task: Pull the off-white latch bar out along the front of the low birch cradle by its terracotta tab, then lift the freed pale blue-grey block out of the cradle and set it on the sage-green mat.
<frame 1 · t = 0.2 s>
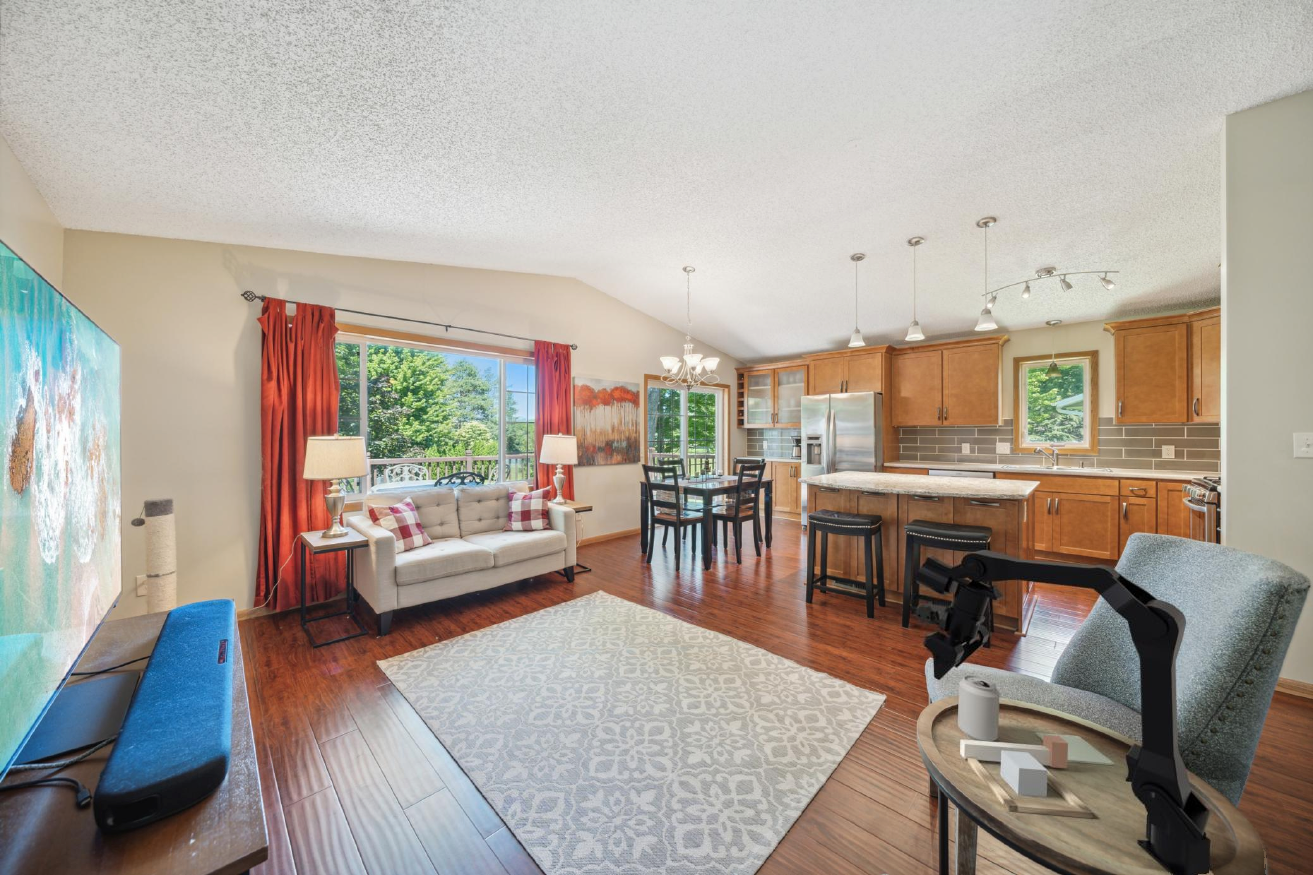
hand: (945, 672, 102), 15 cm above the table, tool pointing down, fingers open, 9 cm apart
mat: (1073, 749, 102), on the table
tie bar: (1012, 747, 97), point 3 cm above the table, slide at 0.0 cm
block: (1022, 786, 90), on the table
cradle: (1022, 785, 90), on the table
can: (977, 734, 106), on the table
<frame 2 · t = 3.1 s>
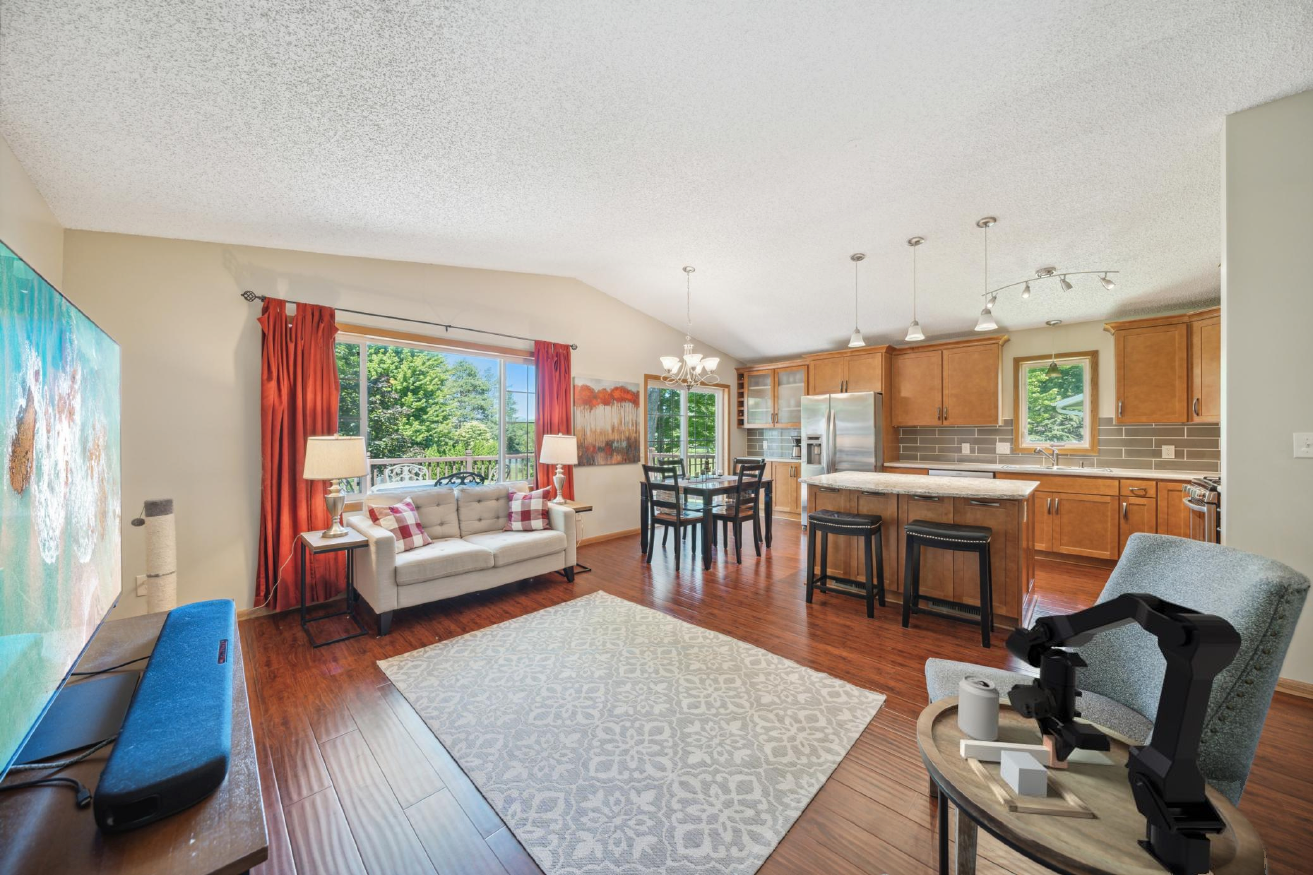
hand: (1054, 756, 96), 2 cm above the table, tool pointing down, fingers closed on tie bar, 2 cm apart
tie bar: (1012, 747, 97), point 3 cm above the table, slide at 0.0 cm, touching gripper
everything else where it was.
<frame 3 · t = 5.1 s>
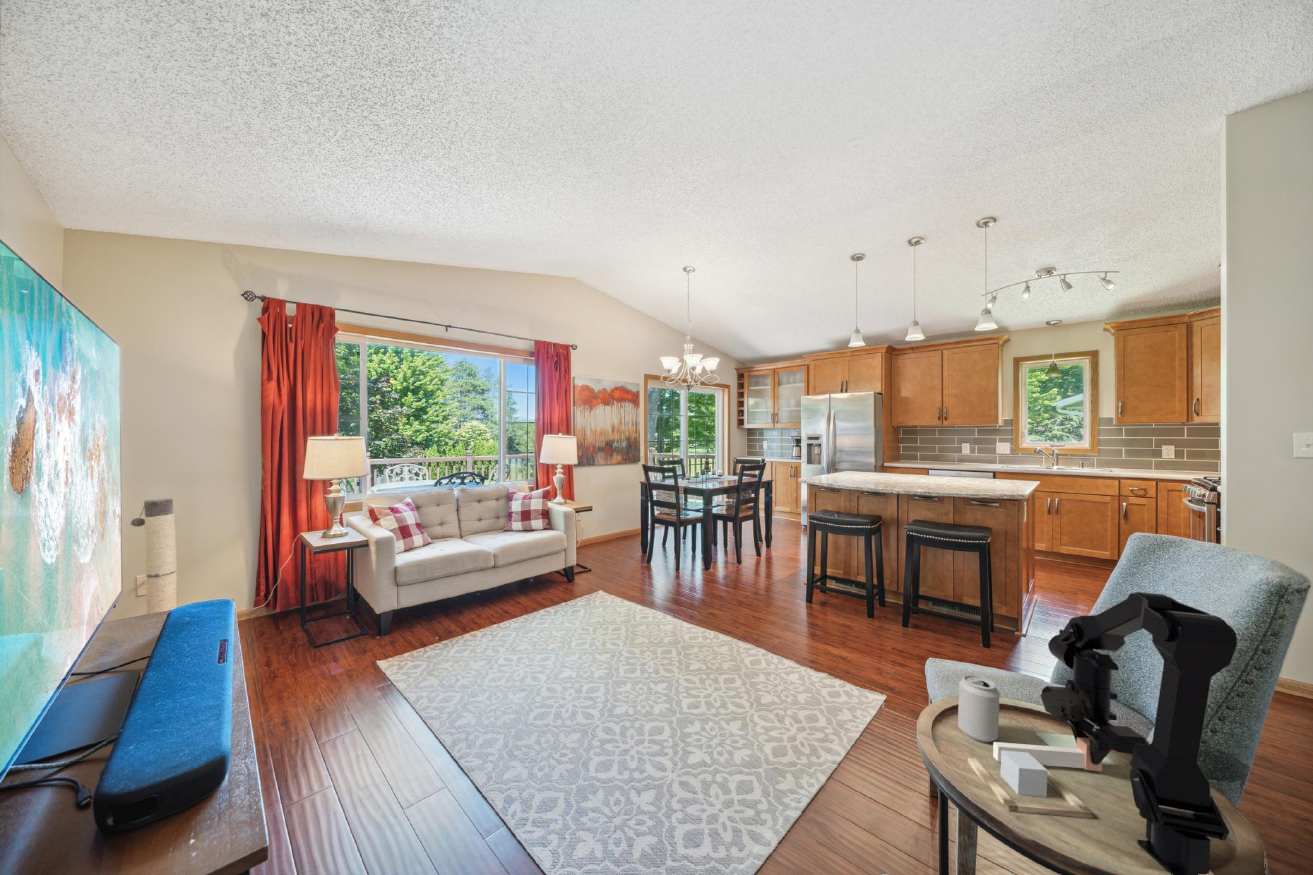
hand: (1089, 759, 96), 2 cm above the table, tool pointing down, fingers closed on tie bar, 2 cm apart
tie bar: (1046, 750, 96), point 3 cm above the table, slide at 6.5 cm, touching gripper
everything else where it was.
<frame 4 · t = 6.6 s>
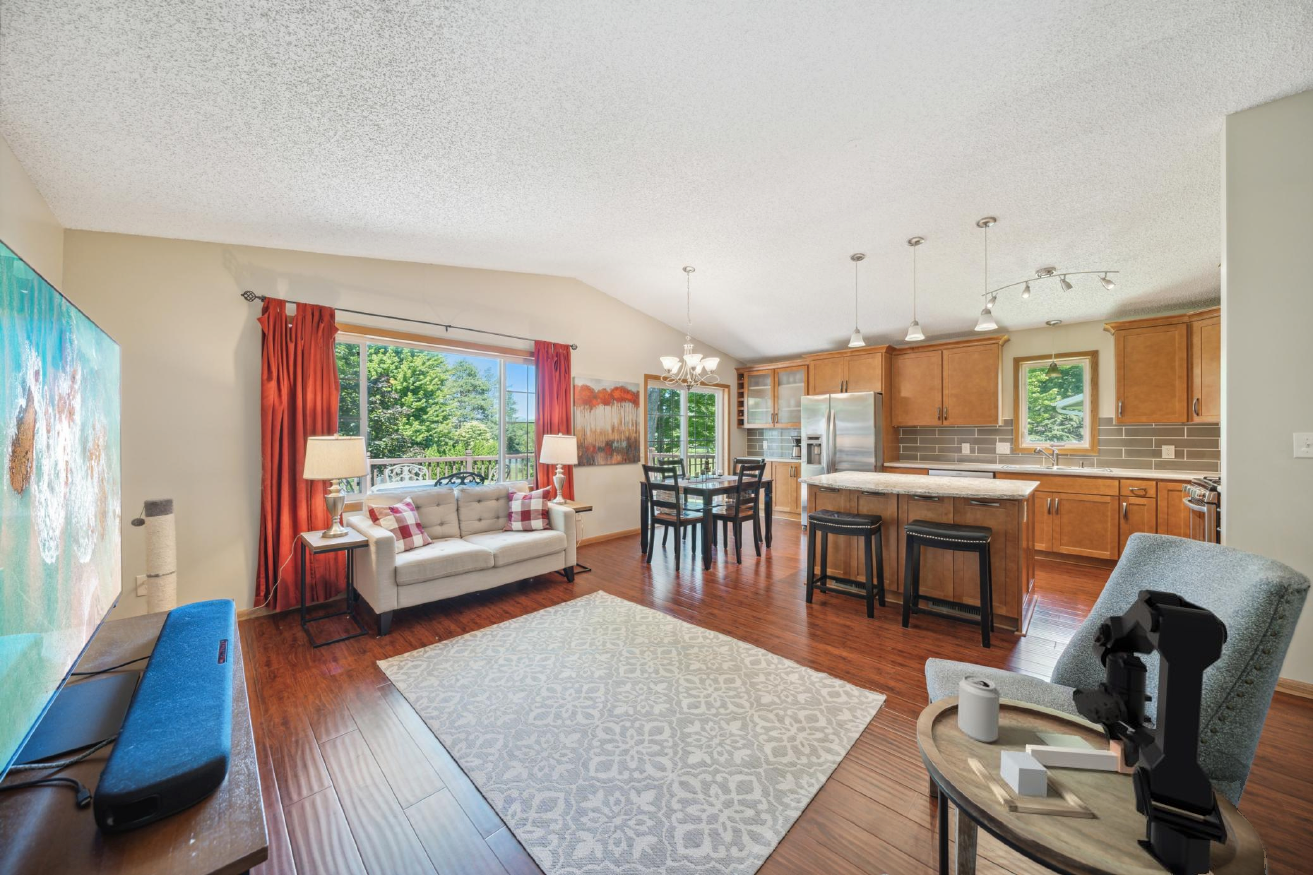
hand: (1122, 761, 95), 2 cm above the table, tool pointing down, fingers closed on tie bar, 2 cm apart
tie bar: (1079, 753, 96), point 3 cm above the table, slide at 12.9 cm, touching gripper
everything else where it was.
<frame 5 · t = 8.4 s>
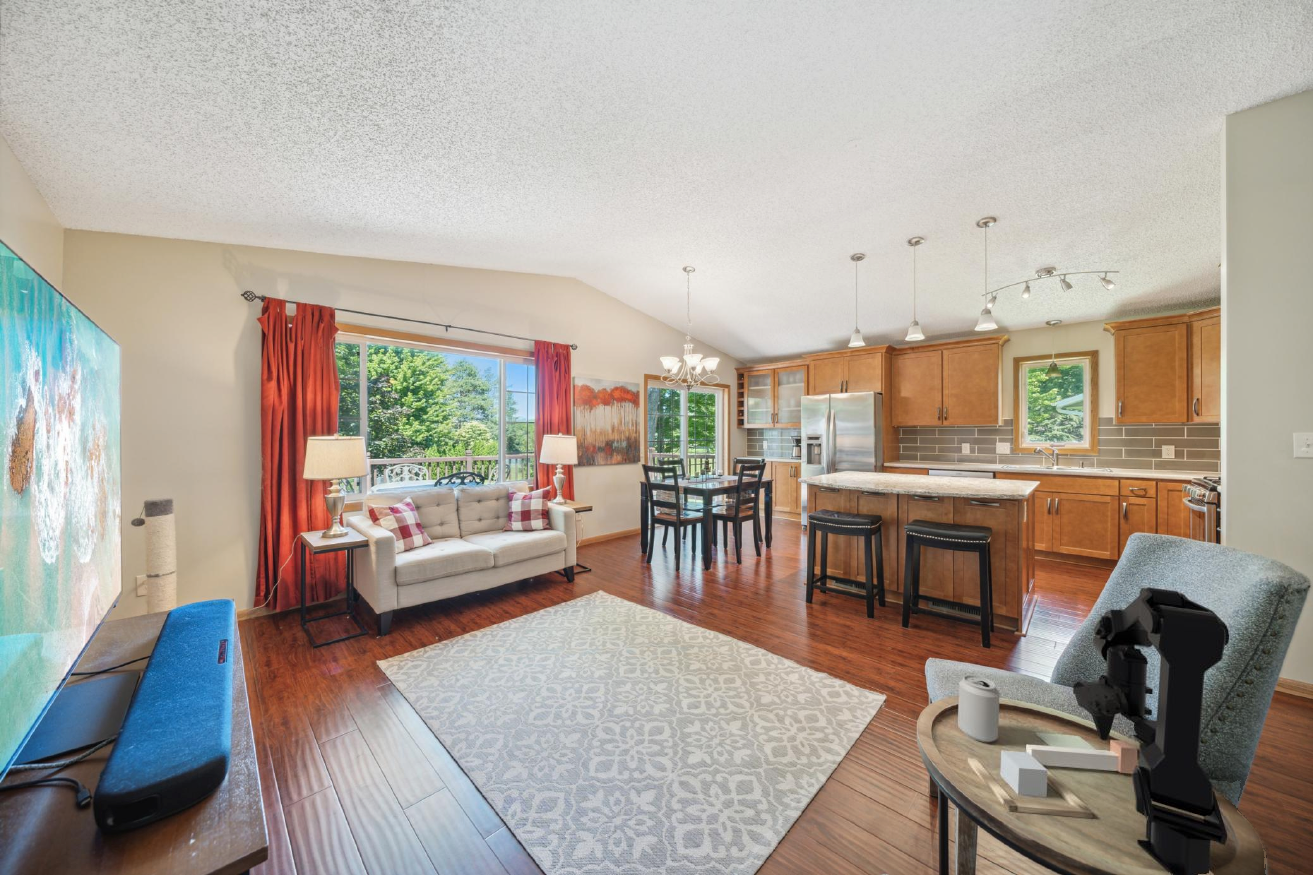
hand: (1123, 754, 95), 3 cm above the table, tool pointing down, fingers open, 9 cm apart
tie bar: (1079, 753, 96), point 3 cm above the table, slide at 13.0 cm
everything else where it was.
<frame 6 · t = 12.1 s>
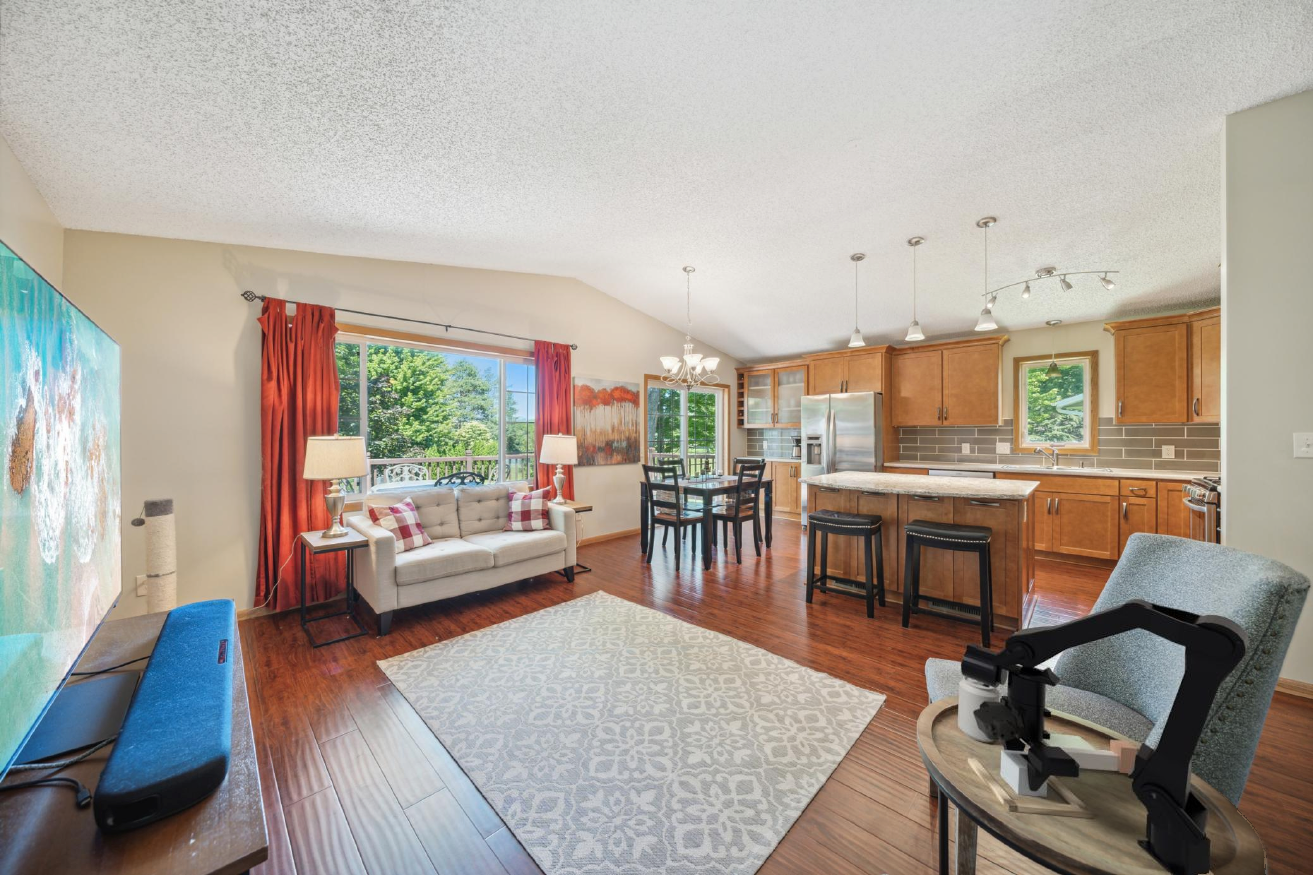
hand: (1023, 780, 90), 1 cm above the table, tool pointing down, fingers closed on block, 5 cm apart
block: (1022, 785, 90), on the table, touching gripper
everything else where it was.
when the fingers open (2 cm above the table, at t = 18.4 s): block stays where it is, resting on mat.
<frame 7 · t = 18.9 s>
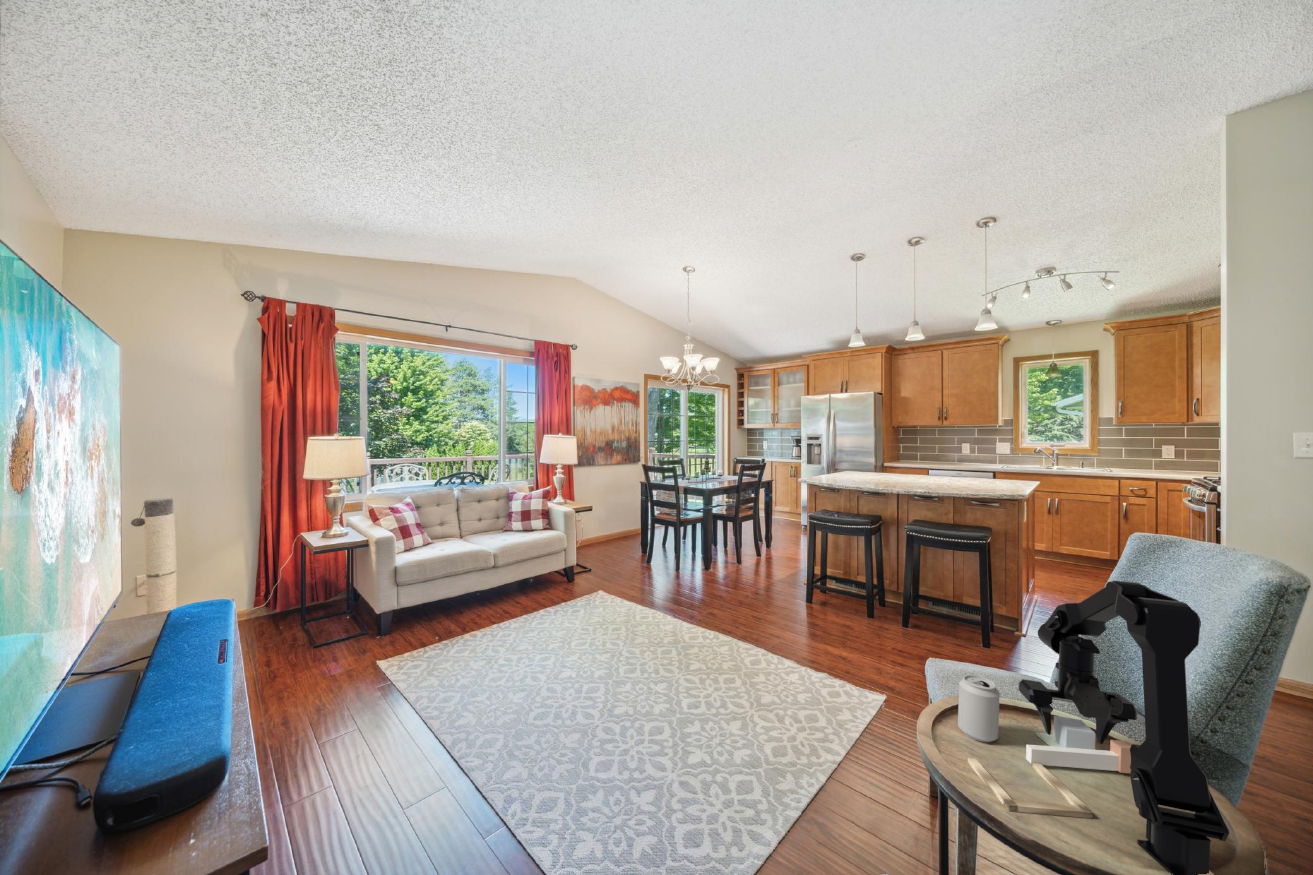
hand: (1073, 738, 102), 2 cm above the table, tool pointing down, fingers open, 9 cm apart
block: (1073, 747, 102), resting on mat
everything else where it was.
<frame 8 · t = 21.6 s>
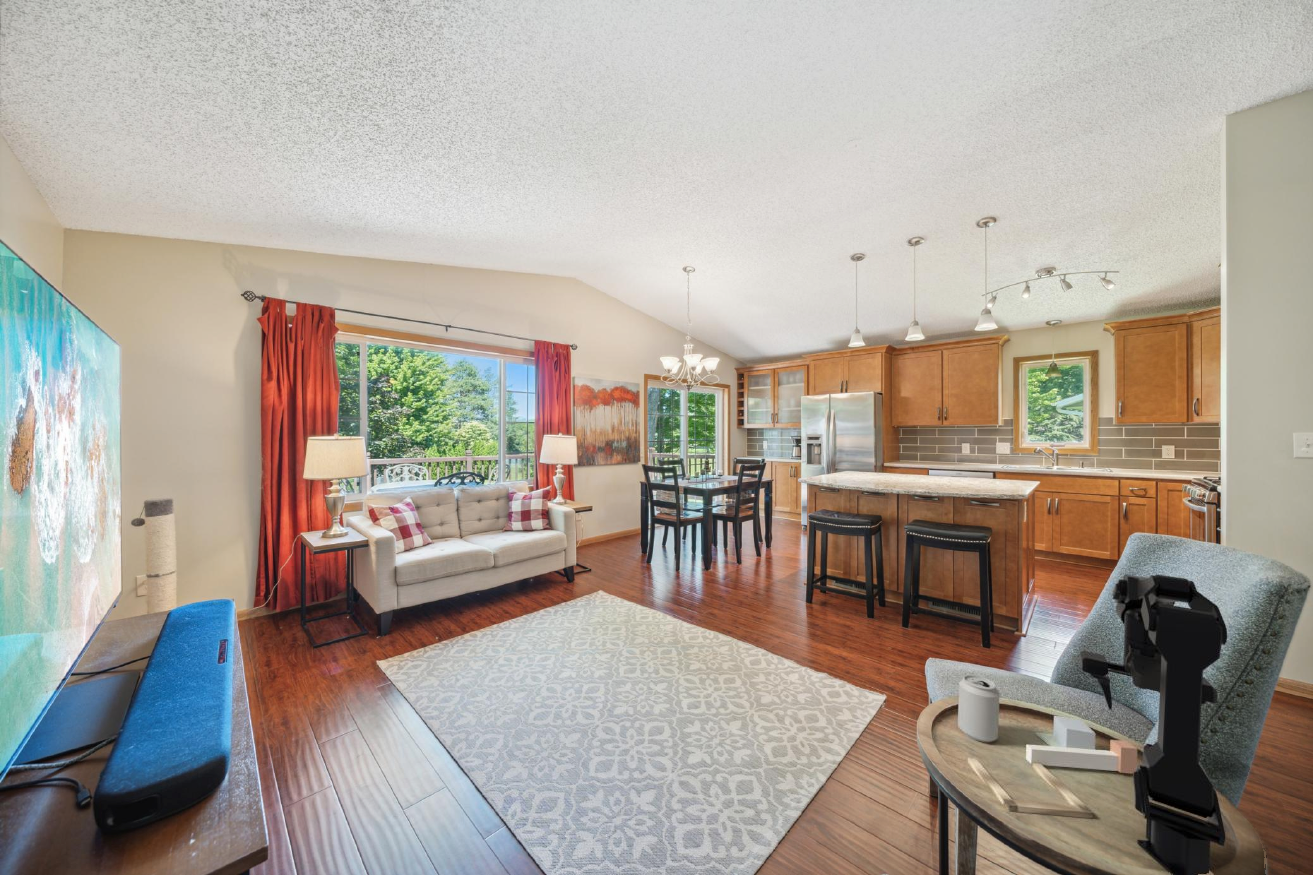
hand: (1141, 717, 95), 11 cm above the table, tool pointing down, fingers open, 9 cm apart
nothing on the table moved.
at the end: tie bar slide at 13.0 cm; block inside the target area on the mat (0.1 cm from its centre), point 0.4 cm above the mat's base; block tilted 0° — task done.
